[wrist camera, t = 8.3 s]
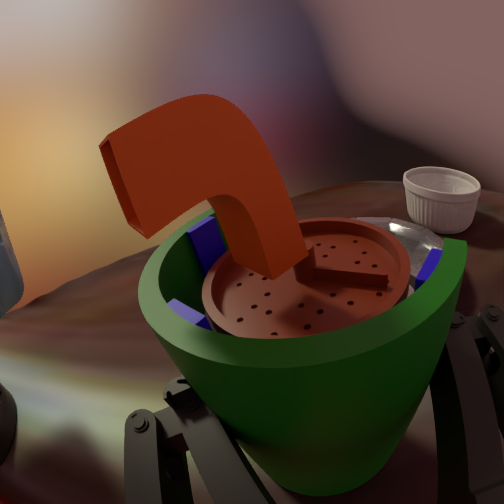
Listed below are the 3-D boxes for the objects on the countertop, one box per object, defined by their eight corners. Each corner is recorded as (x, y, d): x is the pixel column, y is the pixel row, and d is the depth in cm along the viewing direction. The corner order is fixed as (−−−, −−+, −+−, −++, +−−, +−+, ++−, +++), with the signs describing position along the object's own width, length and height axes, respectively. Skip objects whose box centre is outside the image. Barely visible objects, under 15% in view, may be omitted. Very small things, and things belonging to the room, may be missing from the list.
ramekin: (489, 237, 29) (495, 193, 26) (415, 242, 33) (417, 194, 30) (457, 202, 40) (459, 166, 37) (395, 204, 44) (394, 167, 41)
